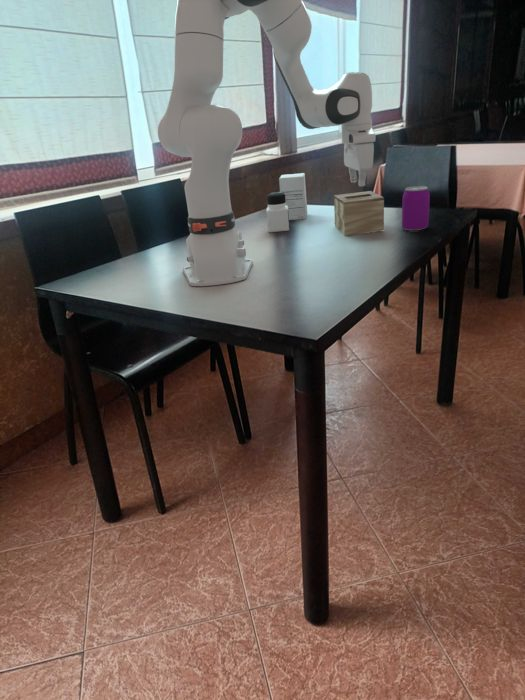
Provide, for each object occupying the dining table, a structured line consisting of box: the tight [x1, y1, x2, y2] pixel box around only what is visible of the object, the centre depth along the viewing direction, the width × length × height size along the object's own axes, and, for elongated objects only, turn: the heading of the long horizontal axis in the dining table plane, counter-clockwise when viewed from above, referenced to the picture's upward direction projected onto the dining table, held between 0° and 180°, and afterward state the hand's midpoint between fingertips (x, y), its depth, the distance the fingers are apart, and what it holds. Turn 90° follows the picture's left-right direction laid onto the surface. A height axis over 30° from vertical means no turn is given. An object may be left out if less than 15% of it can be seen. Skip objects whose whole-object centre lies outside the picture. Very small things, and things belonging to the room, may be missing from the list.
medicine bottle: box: [266, 191, 291, 233], centre depth 165 cm, size 7×7×12 cm
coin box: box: [333, 190, 385, 237], centre depth 154 cm, size 14×12×10 cm
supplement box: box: [278, 172, 308, 221], centre depth 180 cm, size 9×9×15 cm
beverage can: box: [401, 185, 431, 231], centre depth 146 cm, size 8×8×12 cm
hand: (357, 184), depth 151 cm, fingers open, 8 cm apart
